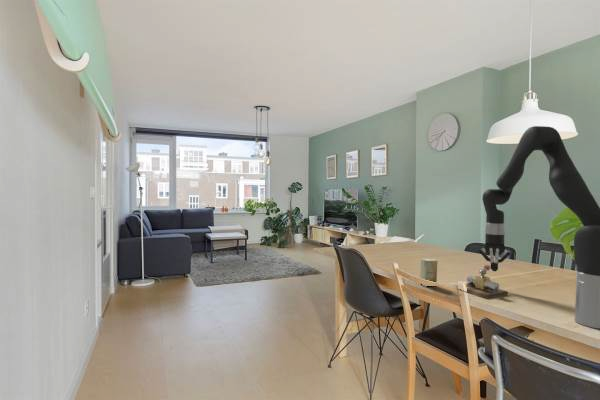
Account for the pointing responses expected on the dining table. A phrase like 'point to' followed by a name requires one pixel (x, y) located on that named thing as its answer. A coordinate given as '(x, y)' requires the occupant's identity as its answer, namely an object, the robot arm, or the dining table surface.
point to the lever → (485, 269)
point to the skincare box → (428, 270)
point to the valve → (483, 283)
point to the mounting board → (485, 292)
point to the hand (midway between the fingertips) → (494, 270)
